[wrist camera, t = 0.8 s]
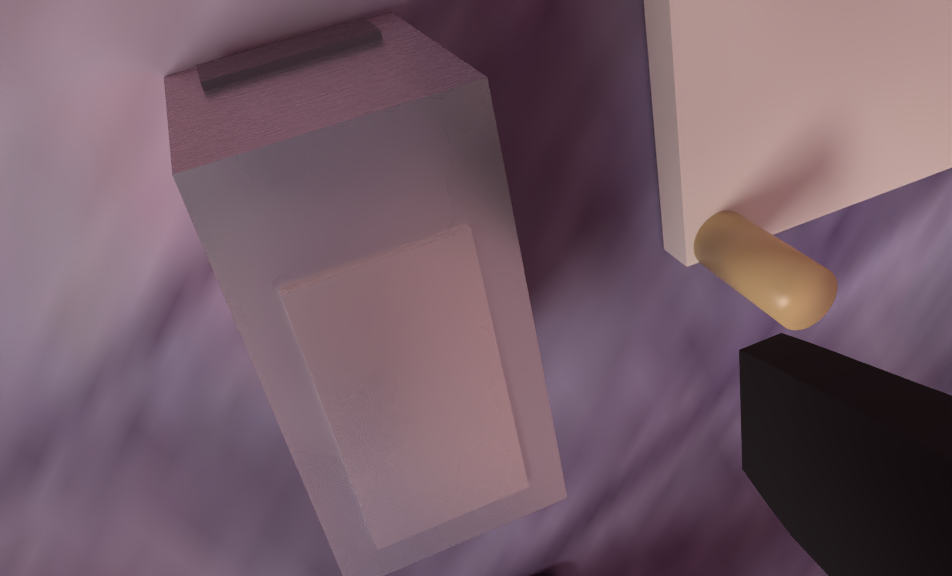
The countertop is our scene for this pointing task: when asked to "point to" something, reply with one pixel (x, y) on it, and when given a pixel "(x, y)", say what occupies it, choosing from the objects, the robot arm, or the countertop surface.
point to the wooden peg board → (790, 128)
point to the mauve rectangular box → (373, 281)
